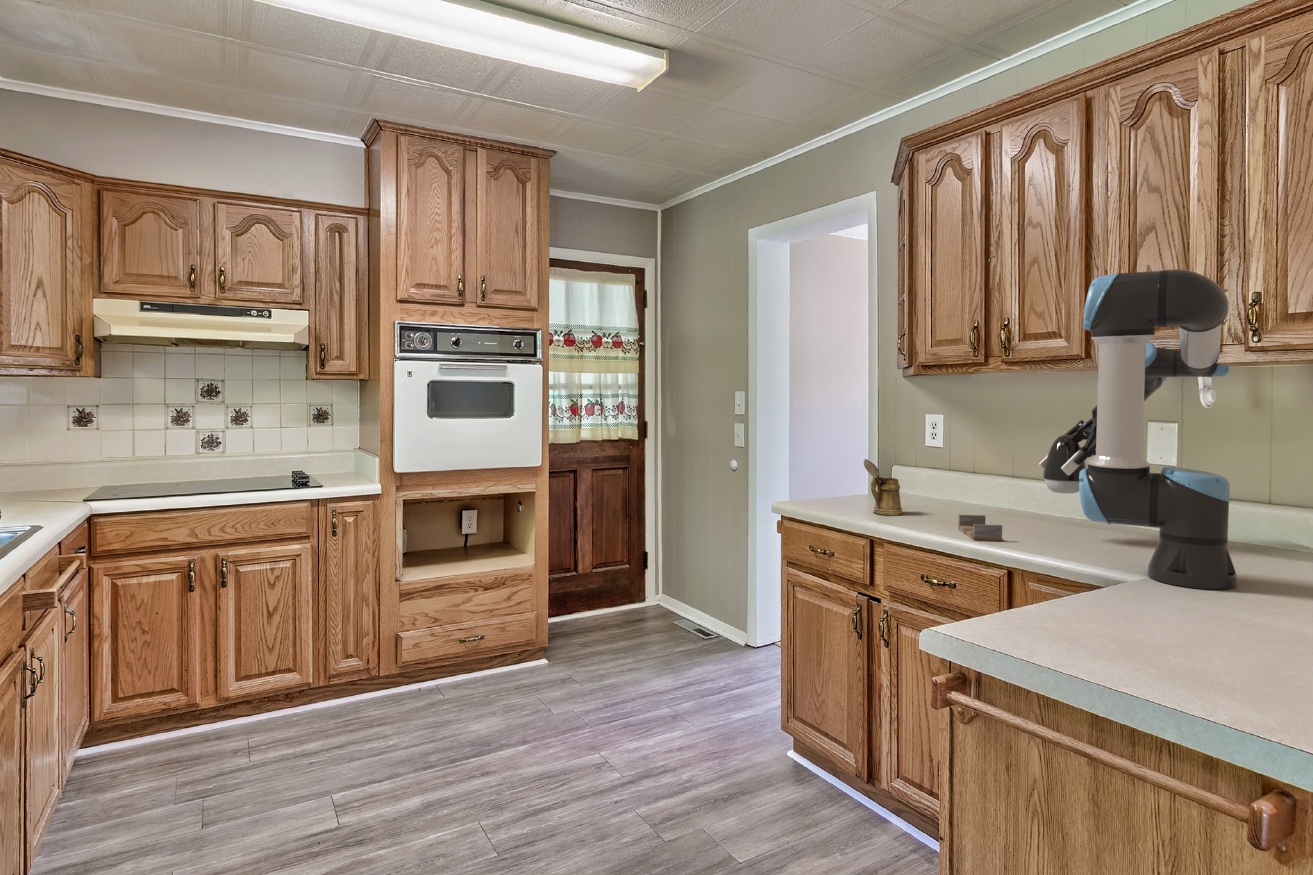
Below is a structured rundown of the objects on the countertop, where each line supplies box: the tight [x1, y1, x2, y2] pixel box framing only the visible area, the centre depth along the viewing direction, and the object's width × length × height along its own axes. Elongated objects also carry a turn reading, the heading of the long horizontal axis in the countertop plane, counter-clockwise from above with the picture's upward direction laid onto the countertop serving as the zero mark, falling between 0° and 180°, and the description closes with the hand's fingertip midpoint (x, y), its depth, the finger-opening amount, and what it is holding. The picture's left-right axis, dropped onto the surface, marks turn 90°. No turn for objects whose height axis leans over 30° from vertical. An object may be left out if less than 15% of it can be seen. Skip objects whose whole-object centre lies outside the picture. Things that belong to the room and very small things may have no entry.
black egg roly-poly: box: [1042, 434, 1087, 494], centre depth 198 cm, size 10×10×15 cm
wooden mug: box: [863, 458, 904, 517], centre depth 240 cm, size 9×14×18 cm, turn 109°
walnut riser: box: [957, 514, 1003, 542], centre depth 206 cm, size 16×7×4 cm, turn 172°
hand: (1053, 469), depth 198 cm, fingers closed on black egg roly-poly, 10 cm apart
